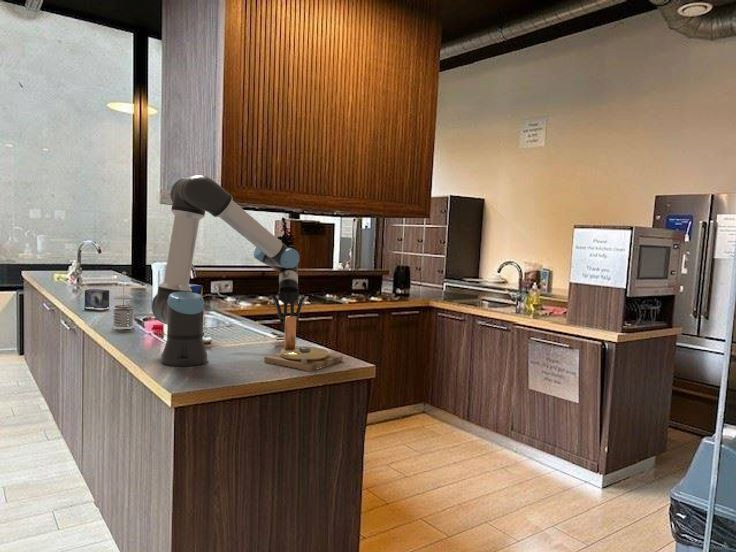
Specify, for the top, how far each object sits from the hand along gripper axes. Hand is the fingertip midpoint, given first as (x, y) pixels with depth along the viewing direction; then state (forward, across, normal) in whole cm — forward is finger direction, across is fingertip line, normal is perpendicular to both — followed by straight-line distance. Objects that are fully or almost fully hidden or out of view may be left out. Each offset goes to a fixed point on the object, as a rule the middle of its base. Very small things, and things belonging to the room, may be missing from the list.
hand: (288, 333), depth 206 cm
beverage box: (-17, -41, +30) cm, 54 cm away
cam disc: (+11, +5, -2) cm, 12 cm away
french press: (-30, -69, +42) cm, 86 cm away
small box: (-67, -95, +80) cm, 141 cm away
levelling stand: (+13, +5, -1) cm, 14 cm away
